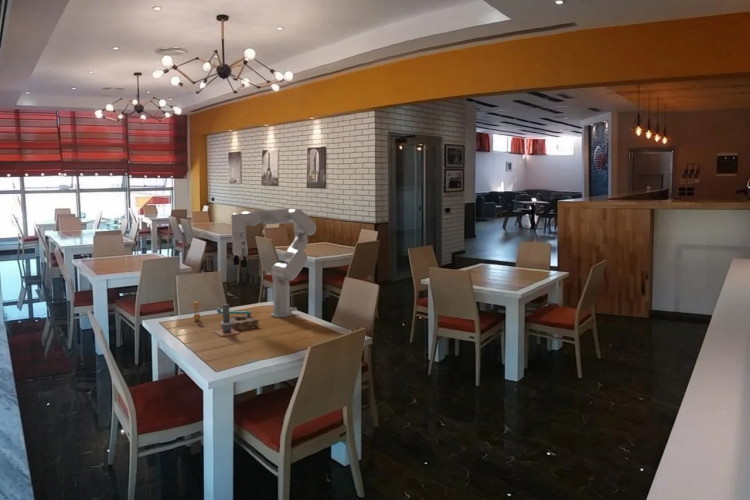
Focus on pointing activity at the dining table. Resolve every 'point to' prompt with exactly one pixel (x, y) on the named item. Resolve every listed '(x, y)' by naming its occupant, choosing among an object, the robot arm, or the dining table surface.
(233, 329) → the tile
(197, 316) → the figurine
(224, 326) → the plug
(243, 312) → the clip
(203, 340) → the dining table surface
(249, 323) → the socket block
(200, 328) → the dining table surface
